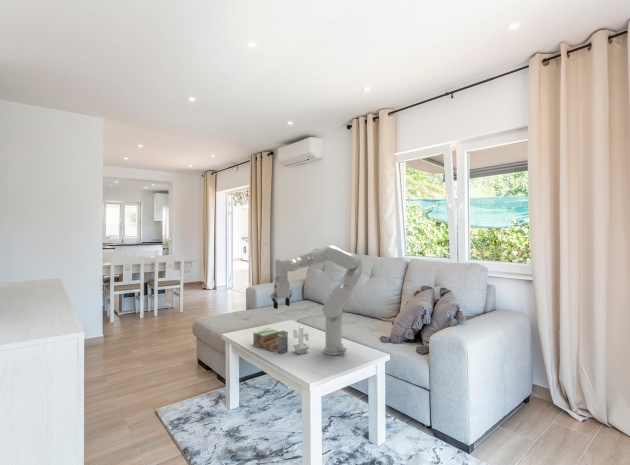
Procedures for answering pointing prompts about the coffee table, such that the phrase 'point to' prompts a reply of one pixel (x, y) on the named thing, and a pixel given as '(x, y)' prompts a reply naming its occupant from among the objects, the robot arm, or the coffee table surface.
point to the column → (282, 342)
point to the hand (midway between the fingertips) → (281, 307)
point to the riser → (266, 339)
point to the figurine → (300, 340)
